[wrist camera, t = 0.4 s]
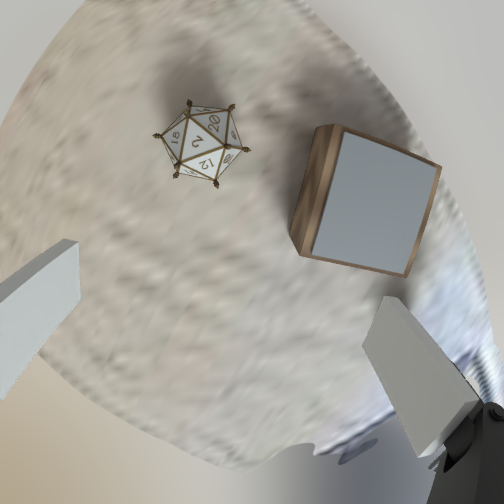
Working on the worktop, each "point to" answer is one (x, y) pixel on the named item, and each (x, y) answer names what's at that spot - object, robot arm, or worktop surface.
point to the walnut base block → (363, 202)
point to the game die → (202, 142)
